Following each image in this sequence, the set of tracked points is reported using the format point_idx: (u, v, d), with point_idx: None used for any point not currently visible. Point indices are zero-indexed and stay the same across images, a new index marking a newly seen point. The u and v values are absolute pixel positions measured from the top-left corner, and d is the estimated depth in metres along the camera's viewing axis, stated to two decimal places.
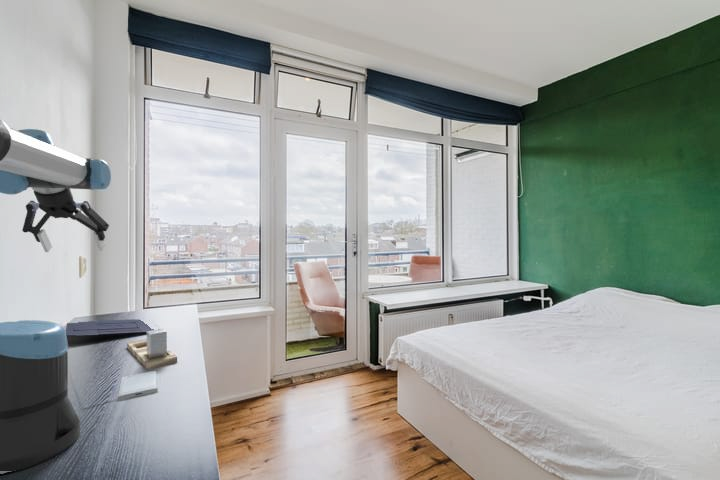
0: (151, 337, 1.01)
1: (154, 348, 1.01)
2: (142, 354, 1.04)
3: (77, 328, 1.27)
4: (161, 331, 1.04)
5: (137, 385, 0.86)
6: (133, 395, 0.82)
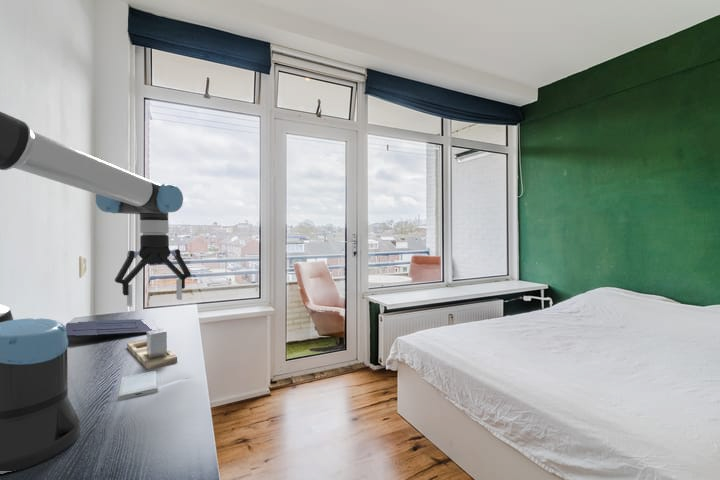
0: (151, 337, 1.01)
1: (154, 348, 1.01)
2: (142, 354, 1.04)
3: (76, 328, 1.27)
4: (161, 331, 1.04)
5: (137, 385, 0.86)
6: (133, 395, 0.82)
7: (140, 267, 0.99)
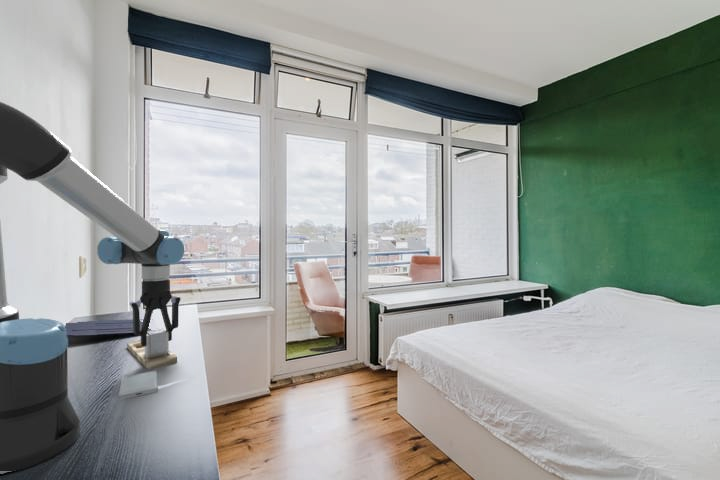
0: (151, 337, 1.01)
1: (154, 348, 1.01)
2: (142, 354, 1.04)
3: (75, 328, 1.27)
4: (161, 331, 1.04)
5: (137, 385, 0.86)
6: (133, 395, 0.82)
7: (149, 315, 1.01)
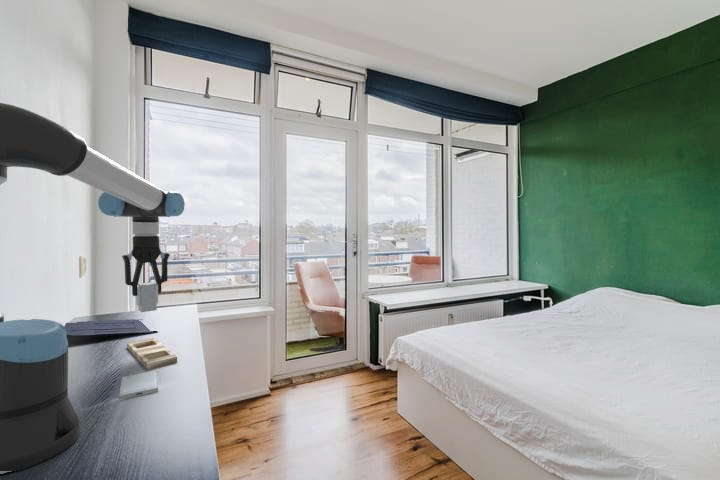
0: (141, 288, 1.09)
1: (144, 298, 1.10)
2: (142, 354, 1.04)
3: (75, 328, 1.27)
4: (151, 283, 1.12)
5: (137, 385, 0.86)
6: (134, 395, 0.82)
7: (139, 268, 1.10)
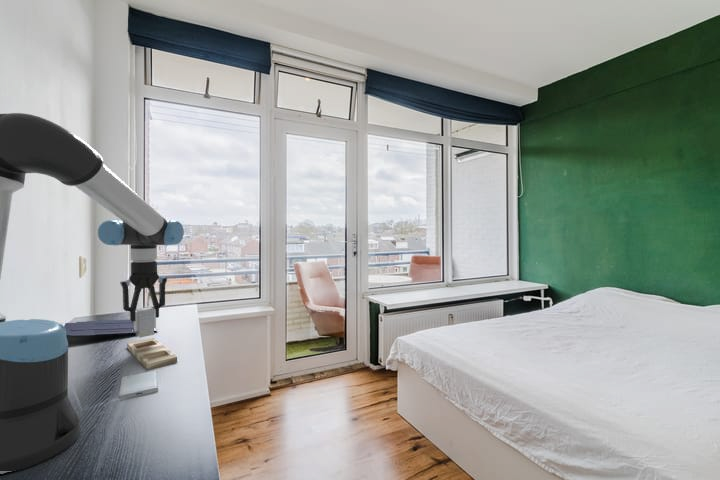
0: (139, 313, 1.11)
1: (142, 324, 1.11)
2: (142, 354, 1.04)
3: (74, 328, 1.27)
4: (149, 308, 1.14)
5: (137, 385, 0.86)
6: (133, 395, 0.82)
7: (137, 293, 1.11)
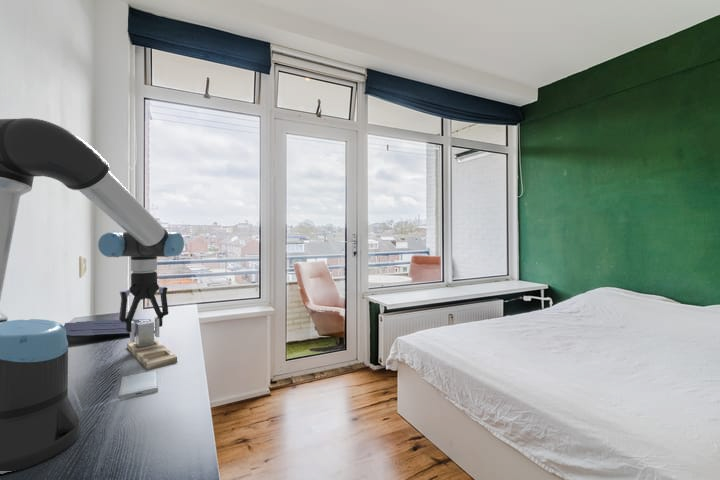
0: (139, 327, 1.11)
1: (142, 338, 1.11)
2: (142, 354, 1.04)
3: (74, 328, 1.27)
4: (149, 322, 1.14)
5: (137, 385, 0.86)
6: (133, 395, 0.82)
7: (136, 304, 1.11)
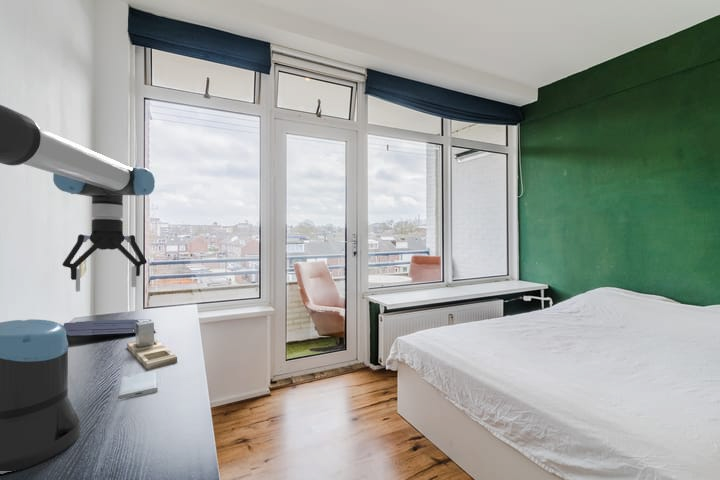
0: (139, 327, 1.11)
1: (142, 338, 1.11)
2: (142, 354, 1.04)
3: (73, 328, 1.27)
4: (149, 322, 1.14)
5: (137, 385, 0.86)
6: (133, 395, 0.82)
7: (90, 251, 0.97)
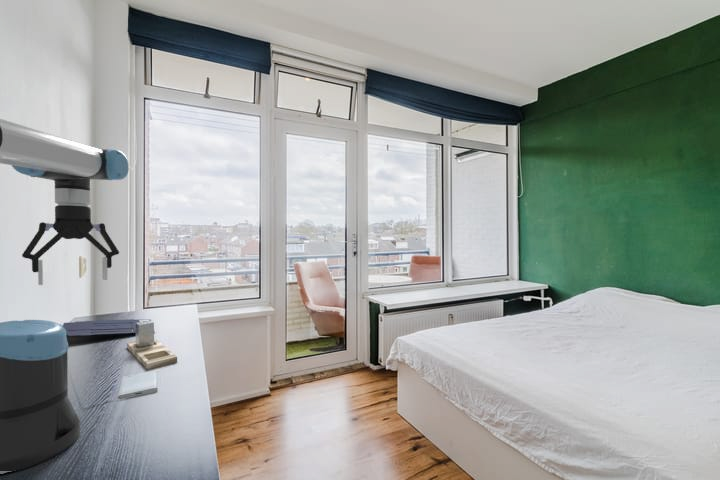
0: (139, 327, 1.11)
1: (142, 338, 1.11)
2: (142, 354, 1.04)
3: (72, 328, 1.27)
4: (149, 322, 1.14)
5: (137, 385, 0.86)
6: (133, 394, 0.82)
7: (53, 241, 0.89)
